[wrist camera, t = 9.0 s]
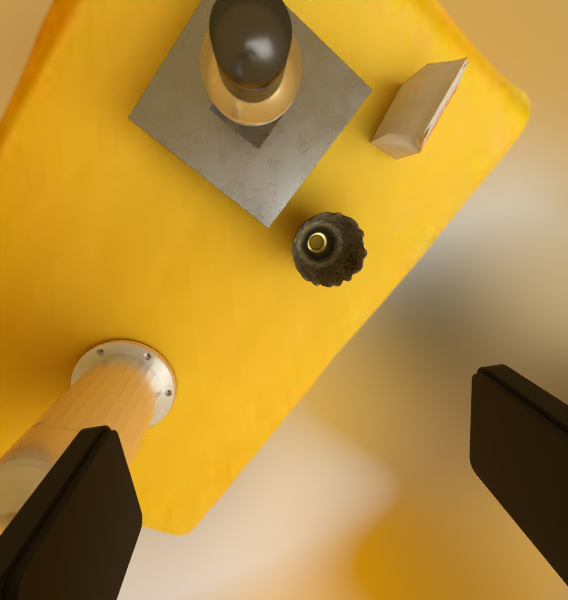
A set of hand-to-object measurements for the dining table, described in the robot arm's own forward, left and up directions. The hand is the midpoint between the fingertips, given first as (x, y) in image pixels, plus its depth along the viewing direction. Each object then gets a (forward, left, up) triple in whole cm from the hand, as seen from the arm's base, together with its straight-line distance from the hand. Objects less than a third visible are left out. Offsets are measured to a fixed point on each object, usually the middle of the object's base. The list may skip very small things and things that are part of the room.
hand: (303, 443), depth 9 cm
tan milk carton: (+21, -3, -35) cm, 41 cm away
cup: (+5, -4, -34) cm, 35 cm away
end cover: (+11, +10, -25) cm, 29 cm away
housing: (+11, +10, -34) cm, 37 cm away
